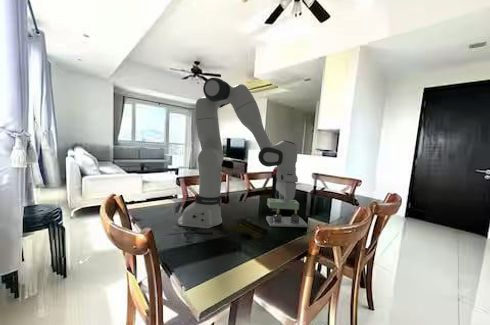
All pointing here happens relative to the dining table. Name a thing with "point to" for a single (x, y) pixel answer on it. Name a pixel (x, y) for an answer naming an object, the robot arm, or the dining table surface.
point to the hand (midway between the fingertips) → (282, 203)
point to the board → (279, 204)
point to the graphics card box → (274, 192)
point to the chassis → (286, 220)
